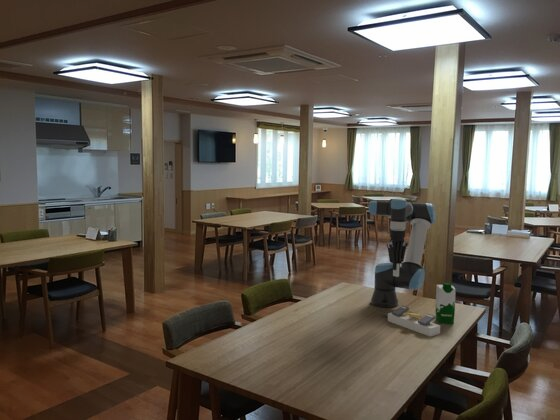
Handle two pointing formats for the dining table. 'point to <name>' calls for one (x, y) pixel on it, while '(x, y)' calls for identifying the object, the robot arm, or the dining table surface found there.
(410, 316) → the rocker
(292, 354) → the dining table surface
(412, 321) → the rocker switch panel
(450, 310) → the milk carton
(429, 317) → the plate
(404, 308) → the block
